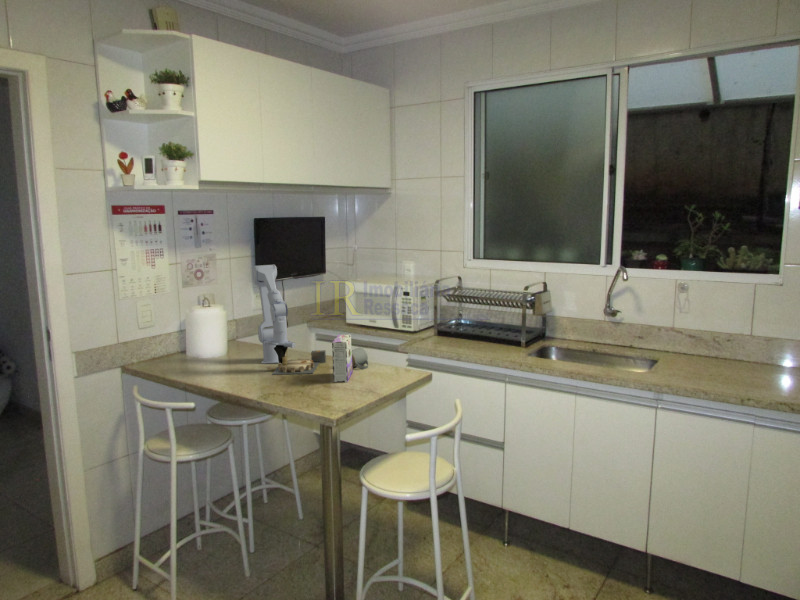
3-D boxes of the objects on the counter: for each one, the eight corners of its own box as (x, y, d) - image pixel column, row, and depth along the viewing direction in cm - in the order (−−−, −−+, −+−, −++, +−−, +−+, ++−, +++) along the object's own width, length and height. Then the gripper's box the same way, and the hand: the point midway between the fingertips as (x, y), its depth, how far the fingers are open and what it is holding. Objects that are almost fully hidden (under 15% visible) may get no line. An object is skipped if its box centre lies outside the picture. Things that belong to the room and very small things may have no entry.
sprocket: (282, 363, 244) (282, 351, 244) (316, 362, 244) (315, 350, 243) (275, 373, 229) (274, 360, 229) (310, 372, 229) (310, 359, 229)
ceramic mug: (342, 366, 238) (342, 349, 237) (356, 362, 244) (356, 346, 243) (359, 371, 231) (359, 353, 230) (373, 367, 237) (373, 349, 236)
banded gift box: (312, 361, 249) (312, 350, 248) (326, 361, 249) (325, 350, 248) (311, 363, 246) (311, 352, 245) (325, 362, 246) (324, 351, 245)
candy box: (339, 372, 229) (337, 334, 226) (353, 372, 228) (351, 334, 226) (333, 382, 215) (331, 341, 213) (348, 382, 215) (346, 341, 212)
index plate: (281, 364, 245) (281, 363, 245) (319, 363, 245) (319, 362, 245) (272, 374, 229) (272, 373, 229) (312, 373, 228) (312, 372, 228)
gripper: (260, 331, 233) (262, 362, 235) (286, 334, 226) (288, 366, 228) (272, 328, 239) (274, 359, 241) (298, 331, 232) (299, 362, 234)
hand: (281, 362), depth 235 cm, fingers closed, pressing on sprocket
